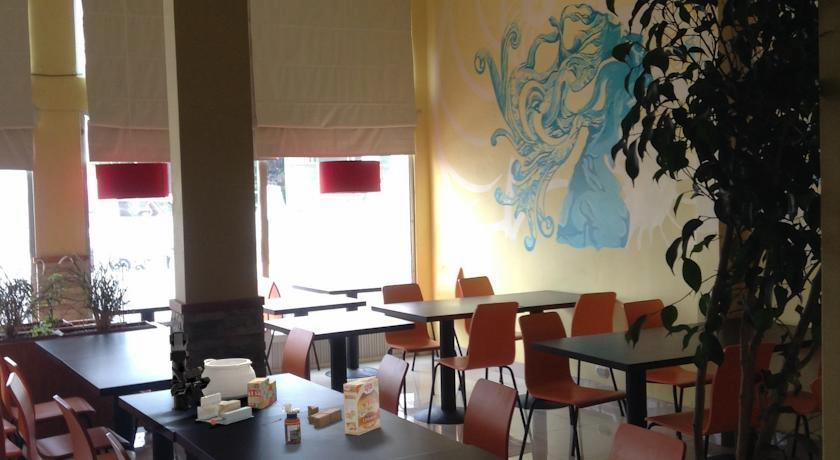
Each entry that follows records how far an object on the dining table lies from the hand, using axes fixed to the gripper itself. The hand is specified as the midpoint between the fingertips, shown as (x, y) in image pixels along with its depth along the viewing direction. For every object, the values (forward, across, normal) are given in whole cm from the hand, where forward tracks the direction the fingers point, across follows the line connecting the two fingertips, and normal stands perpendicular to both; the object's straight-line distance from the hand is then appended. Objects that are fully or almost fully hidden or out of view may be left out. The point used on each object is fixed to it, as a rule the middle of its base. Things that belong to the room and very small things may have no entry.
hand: (200, 400), depth 375 cm
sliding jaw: (+10, 0, -2) cm, 10 cm away
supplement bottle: (+54, -14, -43) cm, 70 cm away
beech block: (+17, 0, -8) cm, 19 cm away
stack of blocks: (+10, +31, 0) cm, 32 cm away
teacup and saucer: (+29, +22, -18) cm, 40 cm away
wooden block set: (+43, +16, -32) cm, 55 cm away
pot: (-12, +38, +22) cm, 46 cm away
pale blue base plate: (+16, -3, -6) cm, 17 cm away
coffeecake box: (+63, +12, -52) cm, 82 cm away
